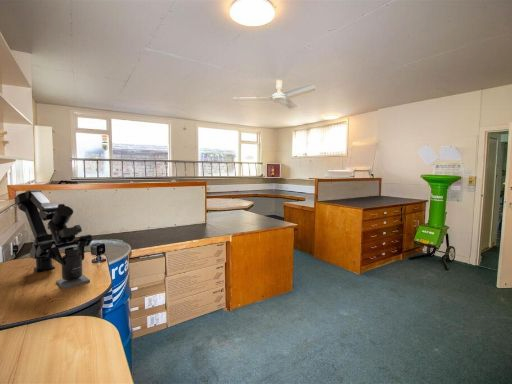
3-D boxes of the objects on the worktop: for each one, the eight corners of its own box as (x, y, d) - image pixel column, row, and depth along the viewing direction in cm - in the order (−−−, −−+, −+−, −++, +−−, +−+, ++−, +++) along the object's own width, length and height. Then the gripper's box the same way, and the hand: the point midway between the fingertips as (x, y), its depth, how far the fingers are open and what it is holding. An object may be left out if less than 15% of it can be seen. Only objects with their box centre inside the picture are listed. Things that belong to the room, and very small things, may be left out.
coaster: (56, 282, 104) (56, 280, 104) (81, 276, 111) (81, 273, 111) (63, 289, 99) (63, 287, 98) (89, 281, 106) (89, 279, 106)
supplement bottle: (77, 280, 102) (76, 251, 101) (58, 281, 101) (57, 251, 100) (85, 273, 109) (85, 245, 108) (67, 274, 107) (66, 246, 106)
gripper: (37, 223, 97) (52, 257, 92) (90, 216, 113) (105, 245, 108) (29, 240, 101) (43, 273, 97) (81, 231, 117) (95, 259, 113)
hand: (73, 262), depth 103 cm, fingers closed on supplement bottle, 7 cm apart
